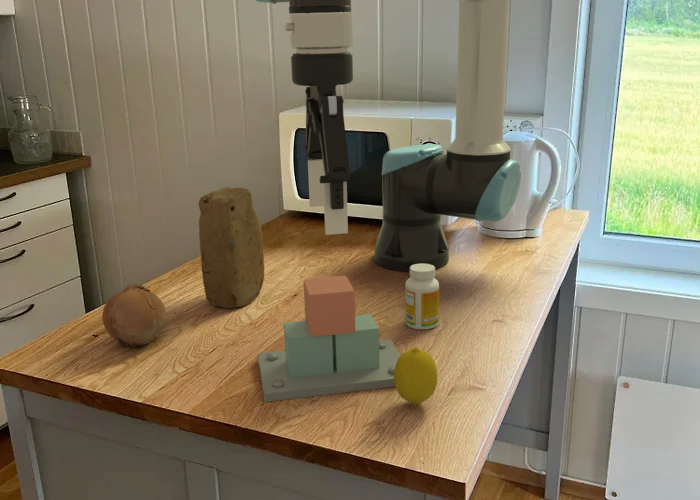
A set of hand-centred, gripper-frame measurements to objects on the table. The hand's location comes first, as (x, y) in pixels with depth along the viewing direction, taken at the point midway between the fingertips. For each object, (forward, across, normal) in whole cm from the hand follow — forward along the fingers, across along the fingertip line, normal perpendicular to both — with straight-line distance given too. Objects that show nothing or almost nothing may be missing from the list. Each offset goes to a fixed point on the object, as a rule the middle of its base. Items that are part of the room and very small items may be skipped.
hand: (327, 218), depth 93 cm
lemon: (+23, +11, +9) cm, 27 cm away
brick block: (+15, 0, 0) cm, 15 cm away
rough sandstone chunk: (+23, -31, -12) cm, 40 cm away
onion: (+23, -17, -28) cm, 40 cm away
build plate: (+22, 0, 0) cm, 23 cm away
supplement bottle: (+23, -13, +17) cm, 31 cm away
